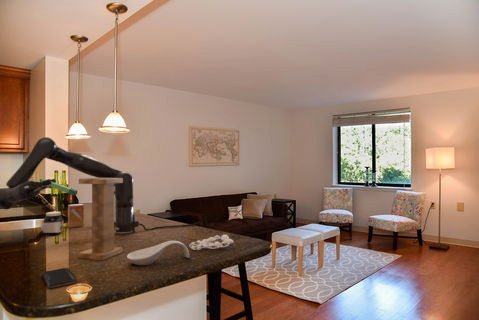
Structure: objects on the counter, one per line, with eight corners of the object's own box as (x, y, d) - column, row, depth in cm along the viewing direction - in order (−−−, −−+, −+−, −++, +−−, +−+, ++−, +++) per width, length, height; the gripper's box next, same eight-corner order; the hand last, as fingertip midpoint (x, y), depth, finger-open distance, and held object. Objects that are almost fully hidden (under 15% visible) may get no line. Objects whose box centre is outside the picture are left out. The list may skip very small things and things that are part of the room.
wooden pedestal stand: (76, 257, 131) (76, 178, 132) (98, 249, 143) (98, 177, 143) (104, 260, 127) (104, 179, 127) (124, 252, 138) (124, 178, 139)
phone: (67, 267, 115) (76, 279, 103) (67, 270, 115) (76, 282, 103) (41, 272, 110) (48, 285, 98) (41, 275, 110) (48, 288, 98)
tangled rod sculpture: (193, 256, 136) (192, 246, 136) (186, 245, 150) (186, 236, 149) (236, 250, 142) (236, 241, 142) (226, 240, 156) (226, 232, 156)
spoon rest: (128, 270, 116) (128, 250, 116) (125, 261, 126) (125, 242, 126) (192, 261, 126) (192, 242, 126) (184, 253, 136) (184, 236, 136)
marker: (38, 182, 144) (39, 178, 144) (42, 181, 146) (42, 178, 146) (73, 195, 137) (74, 191, 137) (76, 194, 139) (77, 190, 139)
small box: (69, 227, 192) (69, 205, 192) (68, 225, 197) (68, 204, 197) (84, 226, 196) (84, 204, 196) (82, 224, 201) (82, 203, 202)
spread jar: (54, 236, 169) (54, 214, 169) (33, 236, 170) (33, 214, 170) (67, 231, 181) (67, 210, 181) (47, 231, 182) (47, 210, 182)
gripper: (9, 184, 142) (36, 173, 136) (38, 182, 155) (64, 172, 149) (12, 200, 141) (40, 190, 136) (41, 197, 154) (67, 188, 149)
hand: (52, 181), depth 142 cm, fingers closed on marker, 2 cm apart
